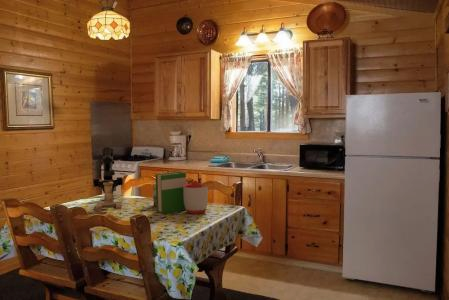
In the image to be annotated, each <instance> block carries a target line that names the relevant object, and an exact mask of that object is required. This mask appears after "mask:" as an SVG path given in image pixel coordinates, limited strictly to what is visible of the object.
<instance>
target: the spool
mask: <svg viewBox="0 0 449 300" xmlns="http://www.w3.org/2000/svg"><path fill="white" fill-rule="evenodd" d="M112 184H113V182H103V185H104V192H103V194H104V200H103V202H104V203H112V202H115V199H114V200H113V198H114V192H113V189H112Z"/></svg>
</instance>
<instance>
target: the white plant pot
mask: <svg viewBox="0 0 449 300" xmlns="http://www.w3.org/2000/svg"><path fill="white" fill-rule="evenodd" d="M208 186H209V184H205V185H204V186H203V184H202V183H200V182H198V181H197V180H194V181H192V183H191V182H190V183H186V184H185V185H183V195H184V205H185V209H186V210H185V211H186V213H188V214H192V215H197V214H203V213H205V212H206V211H207V206H208V203H209V201H208V200H209V199H208V197H209V196H208V193H209V192H210V189H209V188H208Z"/></svg>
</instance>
